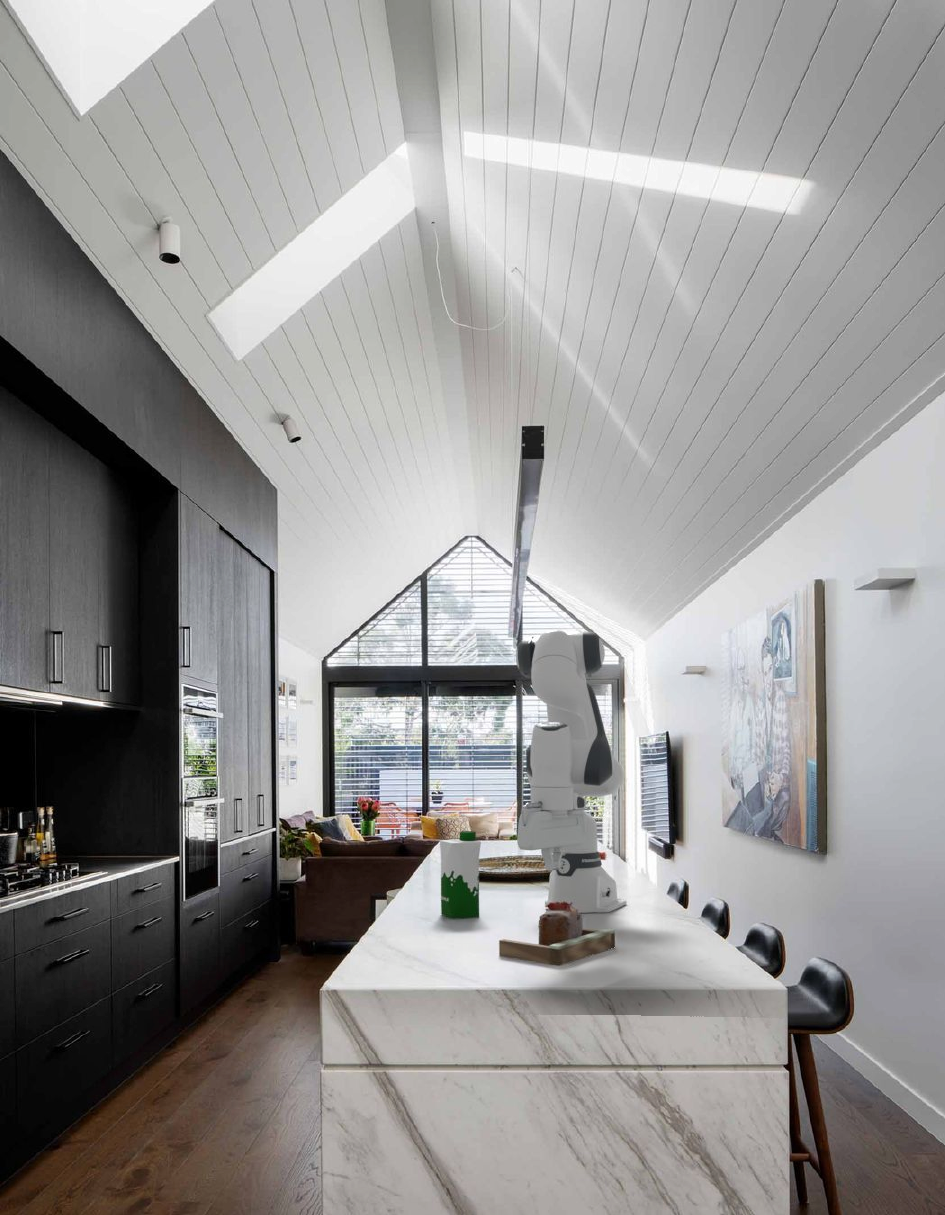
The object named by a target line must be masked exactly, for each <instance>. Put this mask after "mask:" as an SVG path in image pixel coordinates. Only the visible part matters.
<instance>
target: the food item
mask: <svg viewBox="0 0 945 1215" xmlns="http://www.w3.org/2000/svg"><path fill="white" fill-rule="evenodd" d="M571 905H572V902H571V903H570V904H568V903H567V902H566V903H565V901H564V902H561V903H560V902H556V903H555V902H554V903H551V902H550V903H549V905H547V906H546V907H547V908H545V912H544V913H543V914H541V915H539V920H538V944H539V945H545V946H549V945H552V944H556V943H559V942H563V941H566V940H570V939H573V938H577V937H580V936H582V928H583V916H582V914H581V913H578V910H577V909H575V908H573V907H571Z"/></svg>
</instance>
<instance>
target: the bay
mask: <svg viewBox="0 0 945 1215" xmlns="http://www.w3.org/2000/svg"><path fill="white" fill-rule="evenodd" d="M615 931H616V930H615V929H609V928H608V929H607V928H605V929H602V930H598V929H597V930H596V929H590V928H584V927H582V936H580V937H577V938H573V939H570V940H566V941H563V942H559V943H556V944H552V945H549V946H545V945H539V943H537V944H536V943H532V942H526V941H525V942H524V941H519V940H518V941H517V940H511V939H507V938H506V939H500V940H499V941H498V948H499V949H498V955H499V957H502V958H509V959H516V960H522V961H526V962H527V961H528V962H532V963H540V964H545V965H546V964H547V965H551V966H557V967H559V966H563V965H565V964H569V963H572V962H575V961H578V960H581V958H582V959H584V957H585V958H587V957H586V956H588V957H590V956H589V955H591V956H593V955H592V954H594V955H597V954H600V953H602V951H603V952H606V950H607V951H608V949H610V950H612V949H611V948H613V949H615V948H616V932H615ZM614 947H615V948H614Z"/></svg>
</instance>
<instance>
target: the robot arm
mask: <svg viewBox="0 0 945 1215" xmlns="http://www.w3.org/2000/svg"><path fill="white" fill-rule="evenodd" d="M605 651H606V650H605V646H604V643H603V641H602V640H601V637H600V636H599V635H598V634H597V633H596V632H591V631H583V632H577V631H575V632H574V631H572V632H571V631H570V632H569V631H567V632H565V631H563V630H559V629H552V630H548V631H545V632H543V633H542V634H541V635H540V636H535V637H534V636H529V637H527V638H523V639H522V640H521V641H520V642H519V643H518V644H517V649H516V652H515V662H516V665H517V668H518V670H519V672H520V674H521V675H522V676H523V677H524V678H528V679H531V686H532V690H533V693H534V694H535V695H536V697H537V698H538V699H539V700H540V701H542V702H543V703H545V705H546V712H547V713H546V714H547V721H544V722H539V723H537V724H535V725H533V728H532V734H531V742H530V745H529V746H528V747H527V748H526V750H525V753H526V754H525V757H526V759H525V760H526V763H525V764H526V765H525V766H526V767H525V769H526V770H525V772H526V773H527V780H528V783H529V784H528V785H529V786H530V802H527V803H525V805H524V806H523V808H521V811H520V812H521V814H520V816H519V819H518V824H517V825H518V826H517V839H516V840H517V846H518V848H519V849H520V851H522V850H523V851H538V850H540V852H541V856H542V858H543V861H544V869H545V871H551V872H550V874H549V879H548V880H549V882H548V883H549V884H548V897H547V898H548V899H547V900H545V901H544V906H546V907H547V905H549V903H550V902H551V903H554V902H555V903H556V902H560V903H561V902H564V901H565V903H566V902H567V903H568V904H570V903H571V902H572V905H571V907H573V908H575V909H577V910H578V913H584V914H585V913H610V912H612V911H614V910H617V909H619V908H621V907H623V906H625V905H627V900H625V899H622V898H618V891H617V890H618V888H617V883H616V880H615V879H614V878H613V877H612V876H611V875H610V874H609V872H607V871H606V870H605V869H604V868H603V866H602V865H603V864H602V860H603V861H605V860H607V853H606V851H602V852H601V851H598V824H597V821H596V819H595V818H594V817H593V816H592V815H591V813H589V812H587V811H585V810H584V809H586V808H587V798H586V797H590V798H591V797H592V798H601V797H605V796H610V795H614V794H616V793H617V792H618V790H619V789H620V788H621V786H622V784H623V780H624V772H623V768H622V766H621V763H620V761H618V759H617V758H616V757H614V754H613V751H612V749H611V746H610V743H609V740H608V738H607V737H608V736H607V734H606V730H605V726H604V723H603V719H602V715H601V711H600V706H599V703H598V700H597V696H596V693H595V690H594V689H593V686H592V685H591V684H589V683H587V678H586V674H587V677H588V678H591V677H592V675H593V674H595V673H597V672H599V670H600V669H601V668H602V667H603V663H604V660H605V656H606V652H605Z"/></svg>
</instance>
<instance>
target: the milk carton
mask: <svg viewBox="0 0 945 1215" xmlns="http://www.w3.org/2000/svg"><path fill="white" fill-rule="evenodd" d="M481 844H482V842H481V841H480V840H478V839H477V834H476V831H473V830H463V831H459V838H458V839H457V838H456V839H453V838H452V839H451V838H449V839H447V840H445V839H443V840H442V839H441V840H439V848H440V912H441V914H442V915H441V916H444V917H445V918H449V919H451V918H452V919H451V920H456V919H455V918H461V919H469V918H470V919H471V918H479V917H480V852H481Z"/></svg>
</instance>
